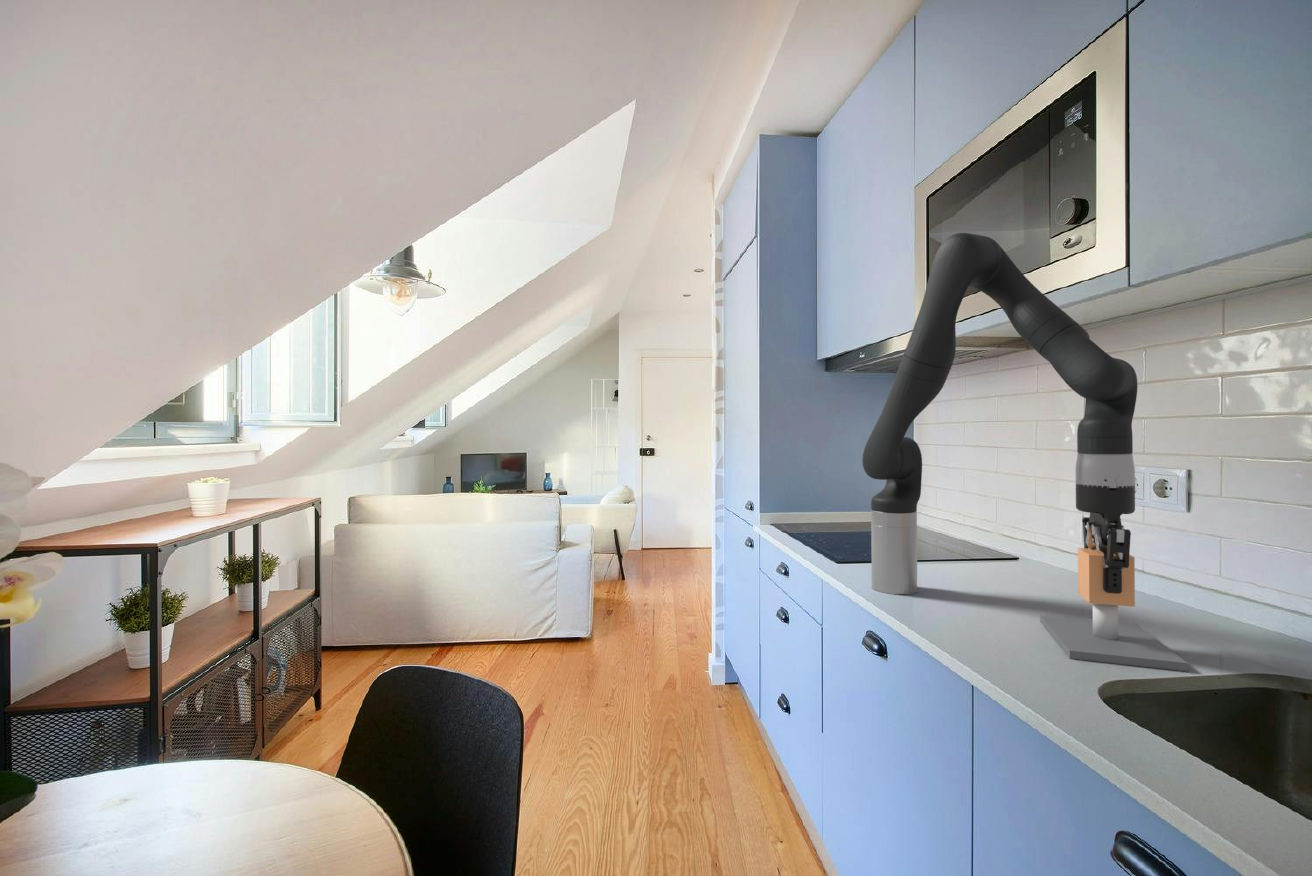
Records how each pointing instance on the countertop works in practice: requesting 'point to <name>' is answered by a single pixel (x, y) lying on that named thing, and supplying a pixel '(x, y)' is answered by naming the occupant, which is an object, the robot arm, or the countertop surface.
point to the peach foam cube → (1093, 580)
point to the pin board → (1110, 640)
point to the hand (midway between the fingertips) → (1105, 587)
